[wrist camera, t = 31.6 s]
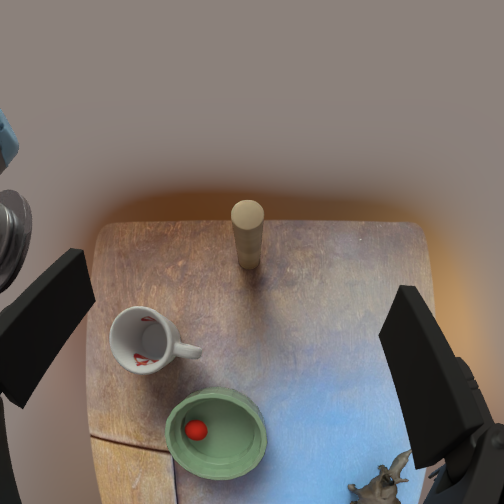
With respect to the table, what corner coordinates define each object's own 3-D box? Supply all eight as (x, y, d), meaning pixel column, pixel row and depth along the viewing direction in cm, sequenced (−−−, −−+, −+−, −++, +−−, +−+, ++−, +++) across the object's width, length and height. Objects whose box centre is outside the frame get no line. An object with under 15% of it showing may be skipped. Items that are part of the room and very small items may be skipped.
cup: (212, 323, 38) (203, 320, 30) (201, 380, 36) (189, 390, 28) (140, 306, 38) (116, 298, 31) (129, 359, 36) (103, 363, 28)
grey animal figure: (334, 542, 24) (382, 546, 15) (330, 474, 35) (372, 455, 26) (377, 532, 25) (432, 526, 16) (371, 468, 36) (420, 444, 27)
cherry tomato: (210, 426, 30) (195, 412, 32) (191, 440, 29) (177, 424, 31) (214, 435, 32) (200, 420, 34) (197, 447, 30) (183, 433, 32)
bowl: (161, 403, 34) (148, 411, 29) (240, 372, 36) (239, 377, 31) (200, 473, 31) (193, 489, 26) (279, 445, 33) (283, 460, 27)
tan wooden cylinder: (234, 253, 41) (225, 207, 26) (254, 245, 41) (255, 195, 27) (243, 272, 40) (239, 235, 25) (263, 263, 40) (269, 221, 26)
